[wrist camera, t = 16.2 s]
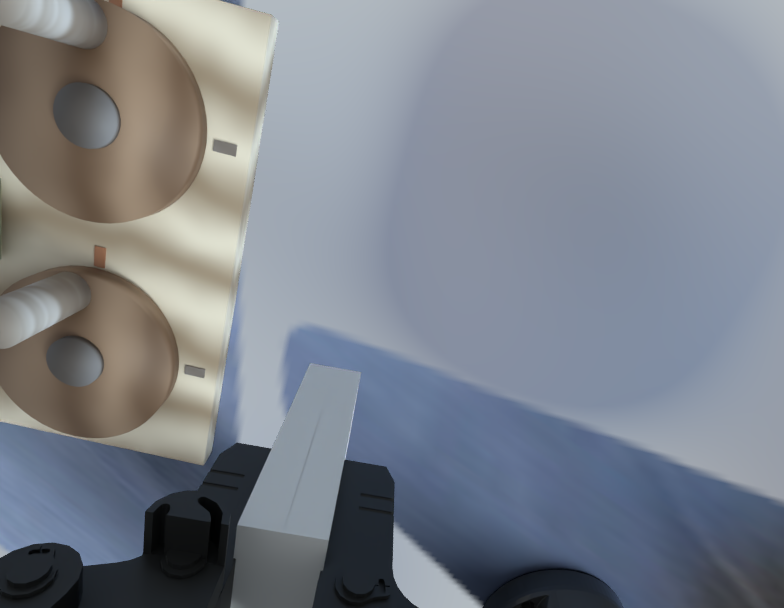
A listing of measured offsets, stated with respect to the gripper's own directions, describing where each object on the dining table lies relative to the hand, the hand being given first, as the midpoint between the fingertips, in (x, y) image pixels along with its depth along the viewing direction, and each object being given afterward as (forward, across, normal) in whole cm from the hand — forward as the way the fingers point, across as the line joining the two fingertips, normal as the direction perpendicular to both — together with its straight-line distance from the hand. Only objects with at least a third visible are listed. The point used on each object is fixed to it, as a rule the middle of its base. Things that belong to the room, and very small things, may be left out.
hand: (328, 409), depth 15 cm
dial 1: (+23, -20, +6) cm, 31 cm away
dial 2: (+24, -21, -12) cm, 34 cm away
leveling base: (+25, -20, -3) cm, 33 cm away
